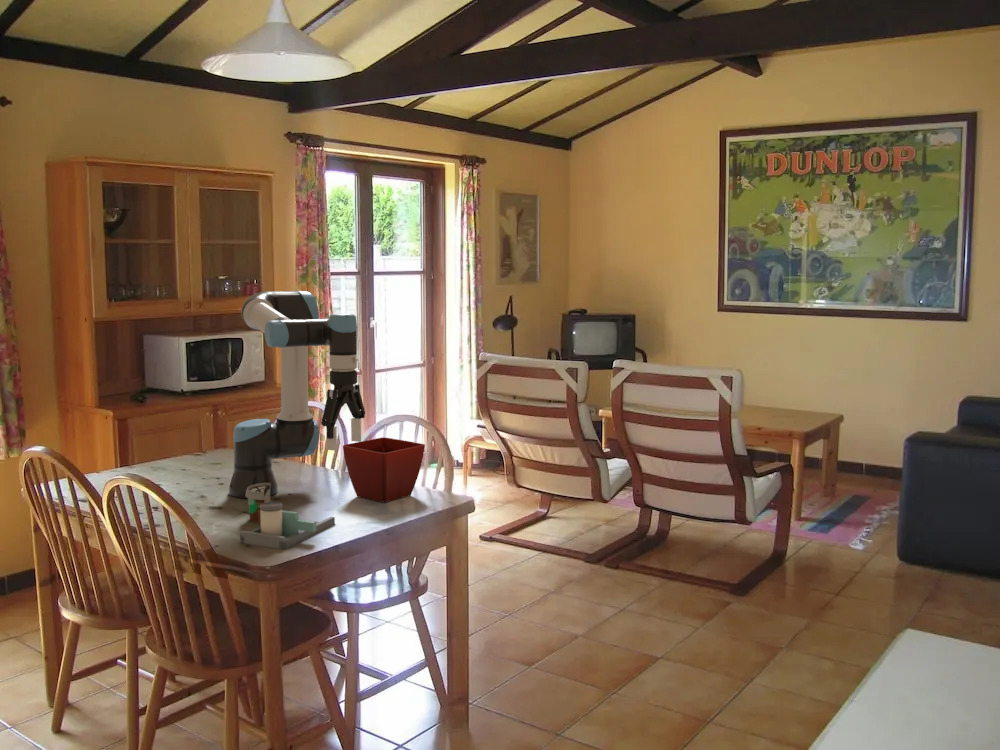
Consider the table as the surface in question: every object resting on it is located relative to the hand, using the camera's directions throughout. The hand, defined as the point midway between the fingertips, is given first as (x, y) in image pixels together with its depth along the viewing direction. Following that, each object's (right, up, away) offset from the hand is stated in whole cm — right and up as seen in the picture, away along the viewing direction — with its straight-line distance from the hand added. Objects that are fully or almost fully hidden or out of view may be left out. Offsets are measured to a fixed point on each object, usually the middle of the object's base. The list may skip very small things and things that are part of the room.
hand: (344, 445), depth 263 cm
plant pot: (+6, -19, +39) cm, 44 cm away
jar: (-17, -25, -11) cm, 32 cm away
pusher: (-13, -24, -8) cm, 29 cm away
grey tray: (-14, -25, -4) cm, 29 cm away
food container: (-27, -23, +10) cm, 37 cm away
